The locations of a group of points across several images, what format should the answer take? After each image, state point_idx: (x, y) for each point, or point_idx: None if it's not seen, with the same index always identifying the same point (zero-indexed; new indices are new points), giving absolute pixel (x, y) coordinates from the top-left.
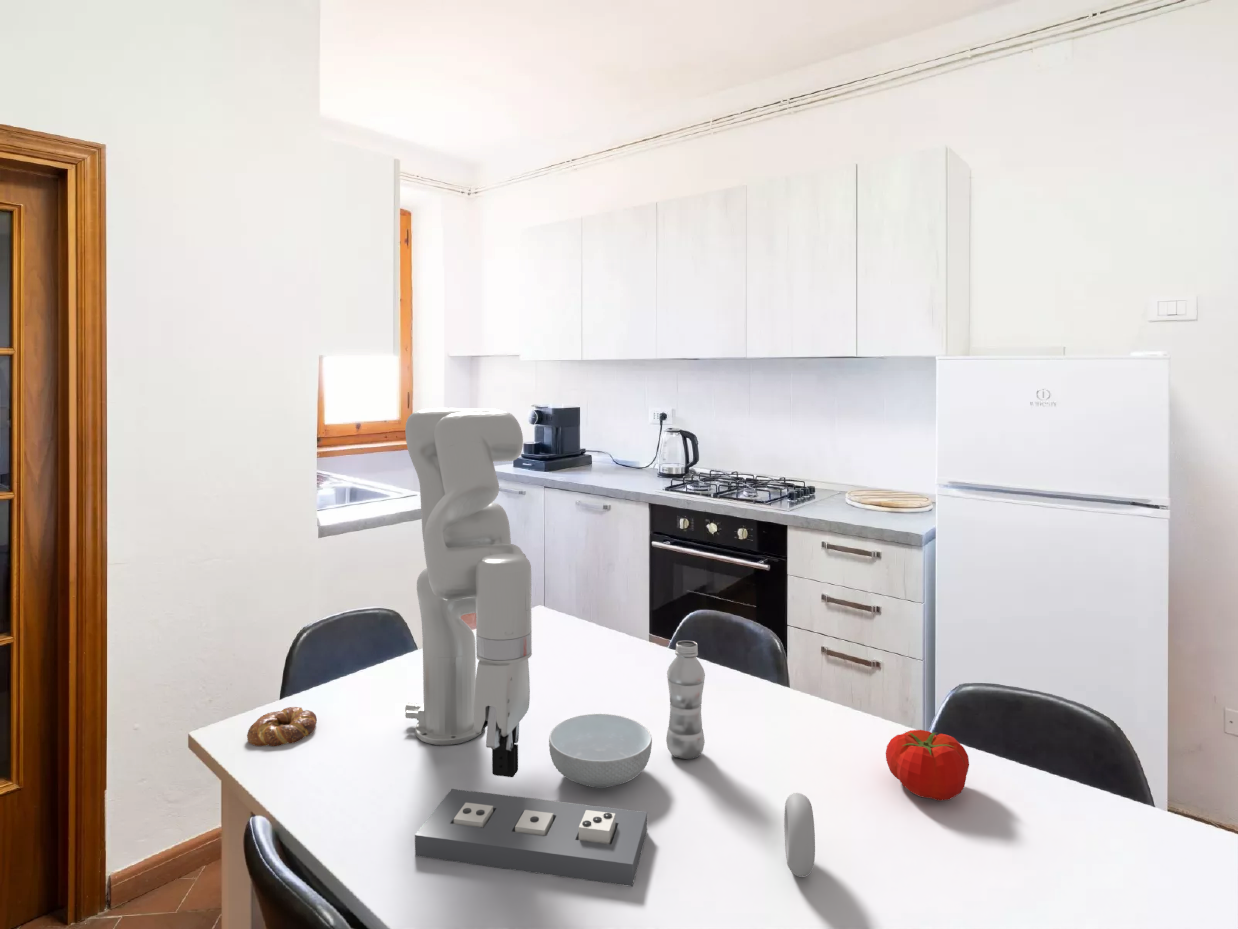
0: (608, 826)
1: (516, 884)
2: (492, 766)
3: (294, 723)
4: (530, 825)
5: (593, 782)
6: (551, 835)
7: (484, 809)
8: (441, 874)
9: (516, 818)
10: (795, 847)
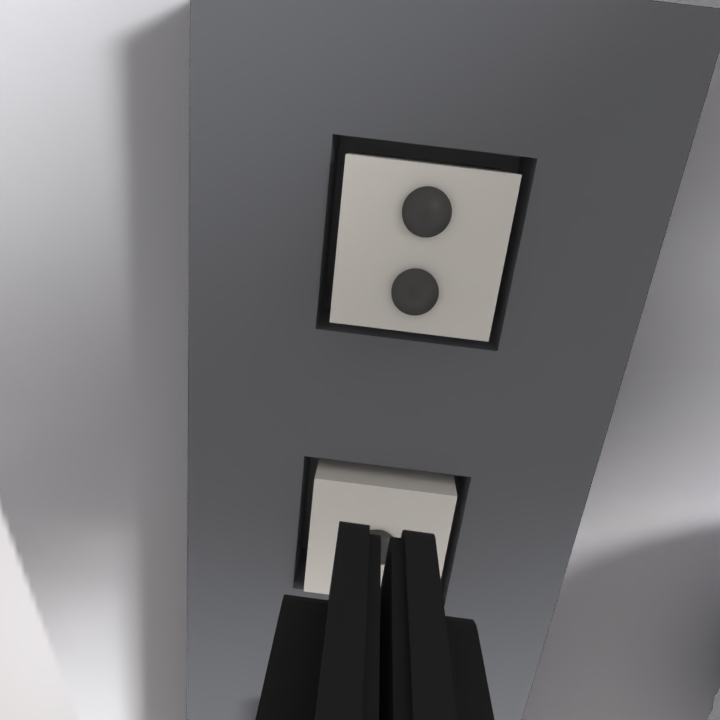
0: None
1: (143, 460)
2: (336, 561)
3: None
4: (331, 537)
5: (711, 714)
6: None
7: (451, 304)
8: (130, 166)
9: (408, 459)
10: None
